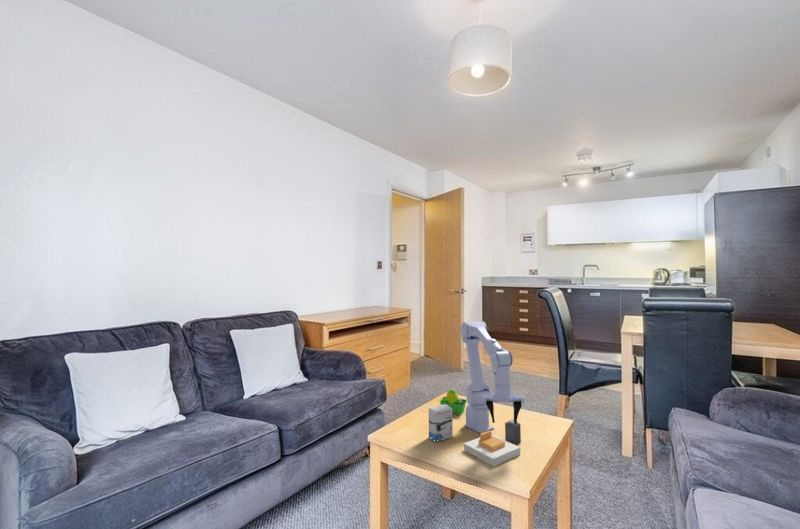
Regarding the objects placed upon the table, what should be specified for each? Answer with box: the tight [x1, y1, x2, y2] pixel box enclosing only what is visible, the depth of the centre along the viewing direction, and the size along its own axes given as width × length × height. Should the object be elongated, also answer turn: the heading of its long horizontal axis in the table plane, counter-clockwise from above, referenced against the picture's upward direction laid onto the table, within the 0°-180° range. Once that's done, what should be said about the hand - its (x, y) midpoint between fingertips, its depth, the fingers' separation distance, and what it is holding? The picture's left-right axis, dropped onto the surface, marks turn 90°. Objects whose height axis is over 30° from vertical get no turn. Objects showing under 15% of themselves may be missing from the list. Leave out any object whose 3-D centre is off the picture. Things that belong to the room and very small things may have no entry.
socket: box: [463, 433, 521, 467], centre depth 134 cm, size 14×14×2 cm
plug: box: [504, 419, 522, 445], centre depth 143 cm, size 4×4×8 cm
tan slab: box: [478, 430, 505, 451], centre depth 134 cm, size 7×7×4 cm
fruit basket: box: [439, 388, 467, 415], centre depth 174 cm, size 11×9×11 cm
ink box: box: [428, 404, 454, 442], centre depth 147 cm, size 8×5×12 cm, turn 117°
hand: (504, 422), depth 135 cm, fingers open, 7 cm apart
